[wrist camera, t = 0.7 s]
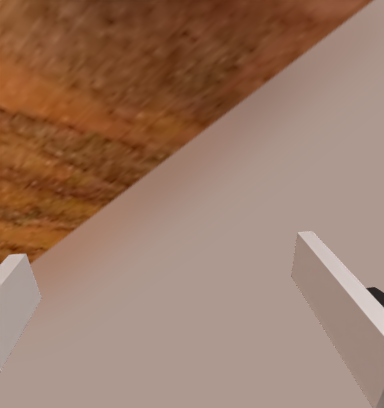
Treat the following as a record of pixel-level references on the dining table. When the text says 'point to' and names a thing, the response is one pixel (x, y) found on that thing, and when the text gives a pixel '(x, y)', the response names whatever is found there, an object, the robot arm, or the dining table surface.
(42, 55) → the dining table surface
